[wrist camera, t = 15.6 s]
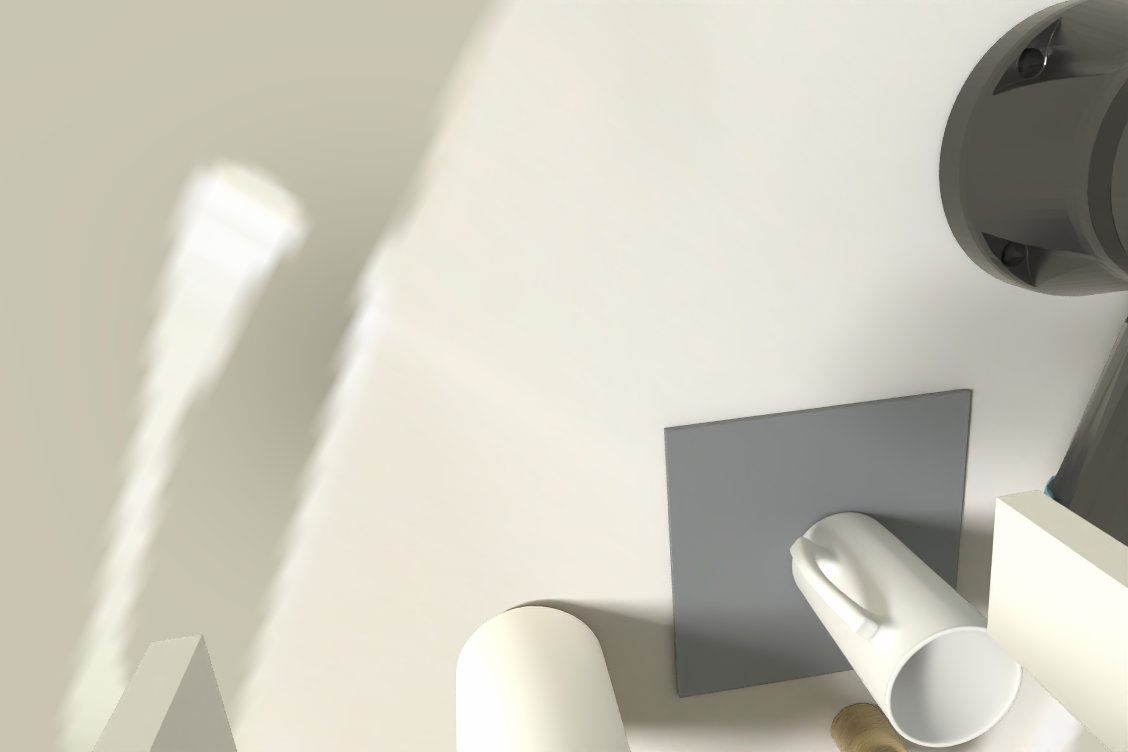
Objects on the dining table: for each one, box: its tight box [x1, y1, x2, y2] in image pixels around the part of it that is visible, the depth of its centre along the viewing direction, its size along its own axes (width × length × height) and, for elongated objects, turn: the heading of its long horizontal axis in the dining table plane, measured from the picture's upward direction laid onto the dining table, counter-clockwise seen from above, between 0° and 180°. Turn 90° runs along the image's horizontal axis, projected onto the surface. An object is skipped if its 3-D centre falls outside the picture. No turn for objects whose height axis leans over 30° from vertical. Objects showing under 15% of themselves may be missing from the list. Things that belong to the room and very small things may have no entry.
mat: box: [664, 389, 971, 698], centre depth 50 cm, size 18×18×1 cm
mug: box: [790, 512, 1022, 747], centre depth 44 cm, size 10×7×12 cm, turn 55°
